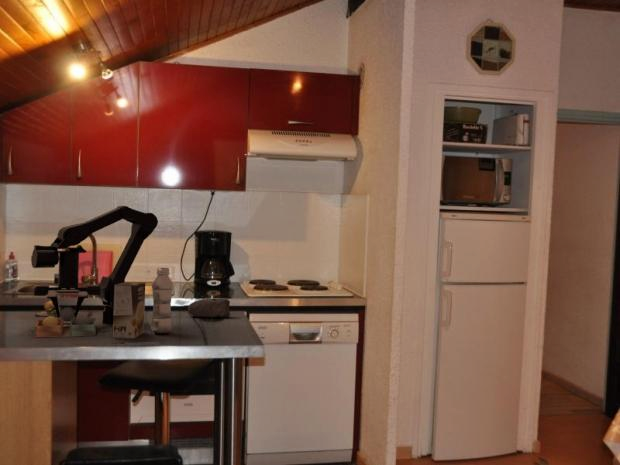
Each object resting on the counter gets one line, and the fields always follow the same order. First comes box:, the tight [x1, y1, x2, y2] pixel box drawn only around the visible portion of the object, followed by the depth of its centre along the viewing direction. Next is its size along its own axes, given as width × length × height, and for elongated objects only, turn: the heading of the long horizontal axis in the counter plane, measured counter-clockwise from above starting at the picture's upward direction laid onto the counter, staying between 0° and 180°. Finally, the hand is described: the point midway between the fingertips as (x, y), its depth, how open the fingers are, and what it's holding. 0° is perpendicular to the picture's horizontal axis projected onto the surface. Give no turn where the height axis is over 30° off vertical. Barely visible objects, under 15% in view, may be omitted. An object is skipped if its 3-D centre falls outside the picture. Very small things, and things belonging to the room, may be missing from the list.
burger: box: [34, 300, 63, 318], centre depth 202 cm, size 12×12×8 cm
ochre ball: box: [42, 316, 58, 326], centre depth 172 cm, size 4×4×4 cm
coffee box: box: [112, 281, 147, 339], centre depth 170 cm, size 9×6×16 cm
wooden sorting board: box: [34, 317, 97, 338], centre depth 174 cm, size 16×20×4 cm
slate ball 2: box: [75, 315, 91, 325], centre depth 175 cm, size 4×4×4 cm
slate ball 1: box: [59, 306, 75, 323], centre depth 180 cm, size 4×4×4 cm
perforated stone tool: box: [187, 298, 231, 319], centre depth 212 cm, size 15×5×7 cm, turn 92°
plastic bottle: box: [150, 267, 174, 335], centre depth 179 cm, size 6×7×20 cm
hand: (67, 318), depth 180 cm, fingers closed on slate ball 1, 4 cm apart
